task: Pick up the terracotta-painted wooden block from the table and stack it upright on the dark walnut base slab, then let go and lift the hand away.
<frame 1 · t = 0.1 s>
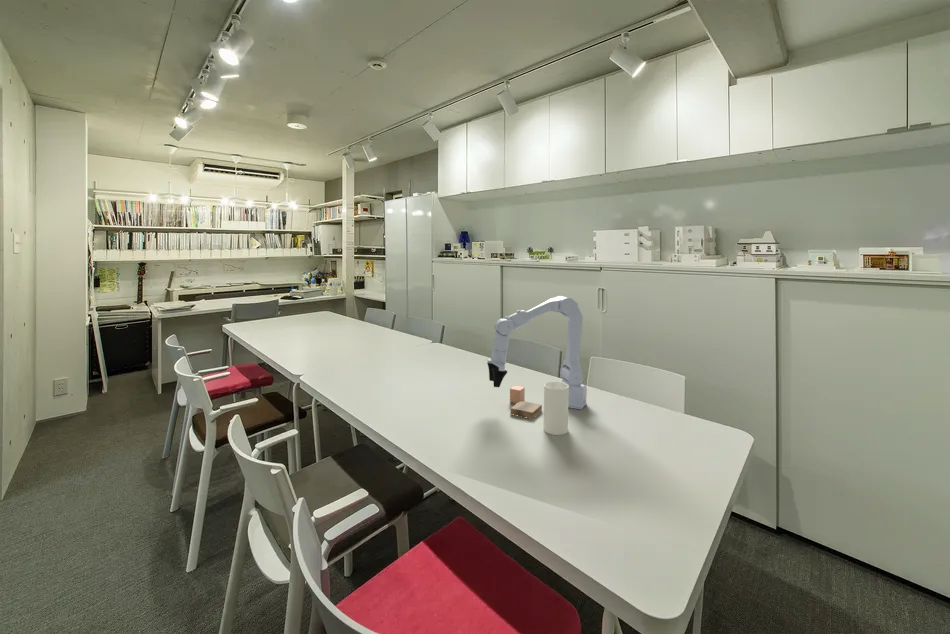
hand: (494, 383, 157), 11 cm above the table, tool pointing down, fingers open, 7 cm apart
base slab: (526, 413, 155), on the table
cup: (555, 430, 140), on the table
block: (517, 401, 167), on the table
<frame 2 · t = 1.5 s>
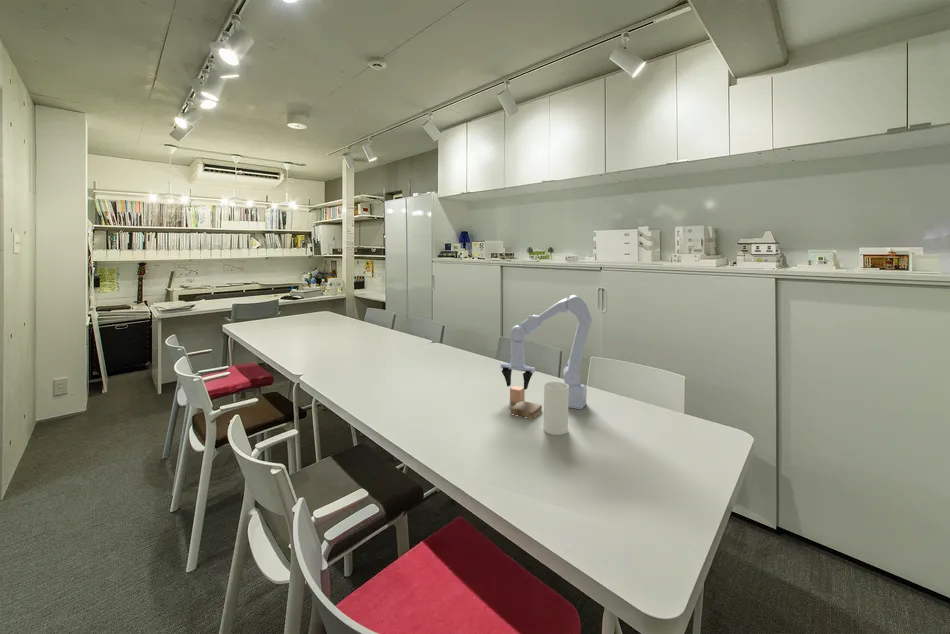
hand: (517, 387, 166), 6 cm above the table, tool pointing down, fingers open, 7 cm apart
nothing on the table moved.
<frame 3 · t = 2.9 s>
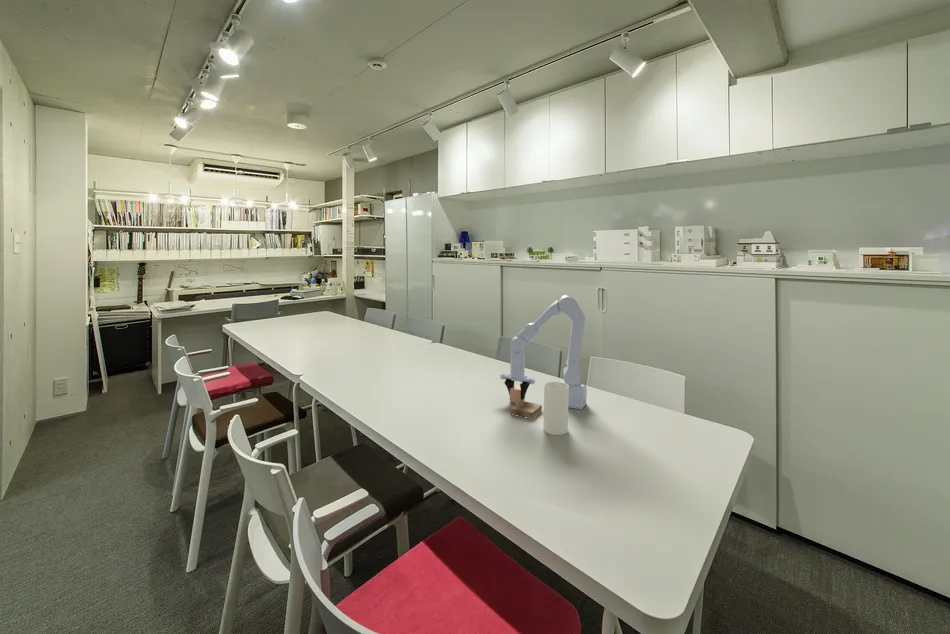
hand: (517, 397, 166), 2 cm above the table, tool pointing down, fingers closed on block, 4 cm apart
block: (517, 401, 167), on the table, touching gripper
everything else where it was.
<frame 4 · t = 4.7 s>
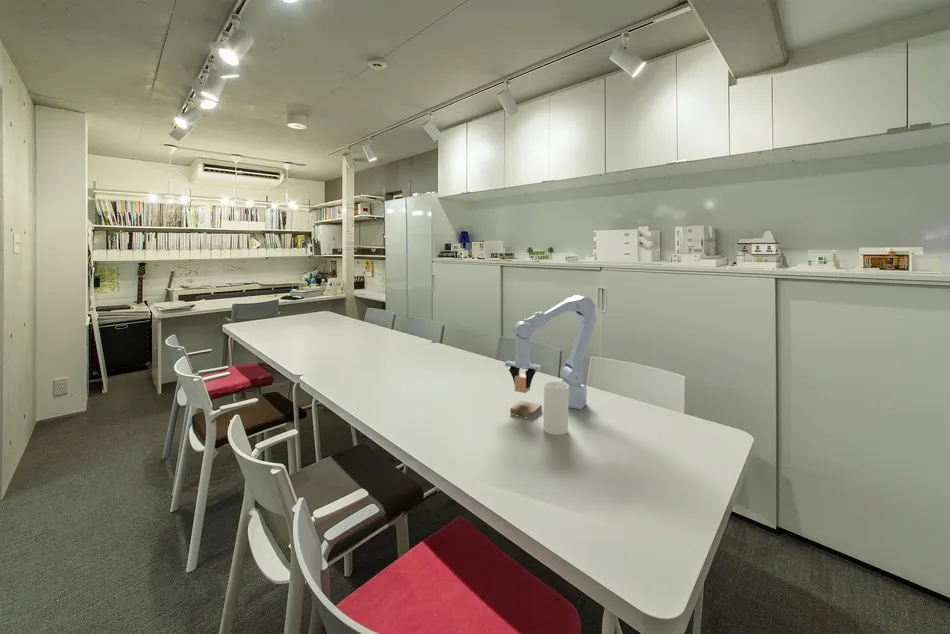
hand: (522, 386, 159), 9 cm above the table, tool pointing down, fingers closed on block, 4 cm apart
block: (522, 390, 159), point 7 cm above the table, touching gripper
everything else where it was.
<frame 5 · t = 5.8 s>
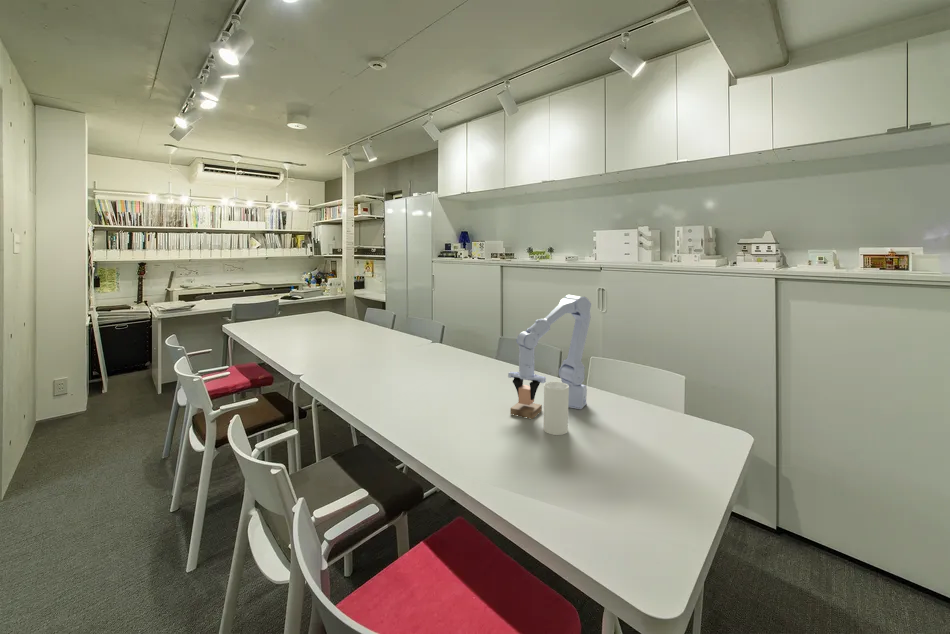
hand: (526, 398, 154), 6 cm above the table, tool pointing down, fingers closed on block, 4 cm apart
block: (526, 402, 154), point 4 cm above the table, touching gripper
everything else where it was.
when the fingers open (6 cm above the table, at t = 6.4 s): block drops 2 cm, resting on base slab.
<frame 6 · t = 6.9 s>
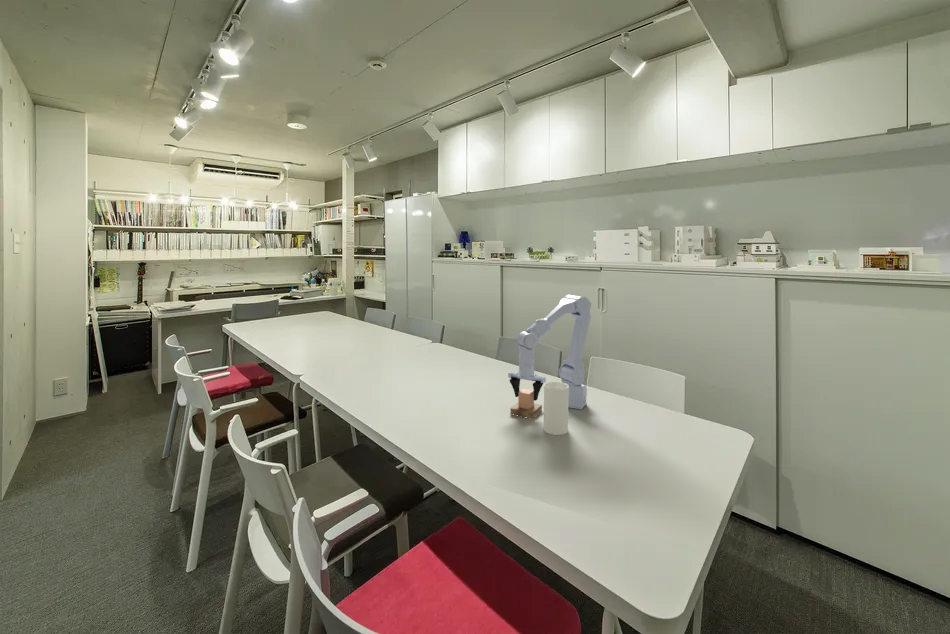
hand: (526, 398, 154), 6 cm above the table, tool pointing down, fingers open, 7 cm apart
base slab: (526, 414, 155), on the table, touching block
block: (526, 406, 155), point 2 cm above the table, touching base slab
everything else where it was.
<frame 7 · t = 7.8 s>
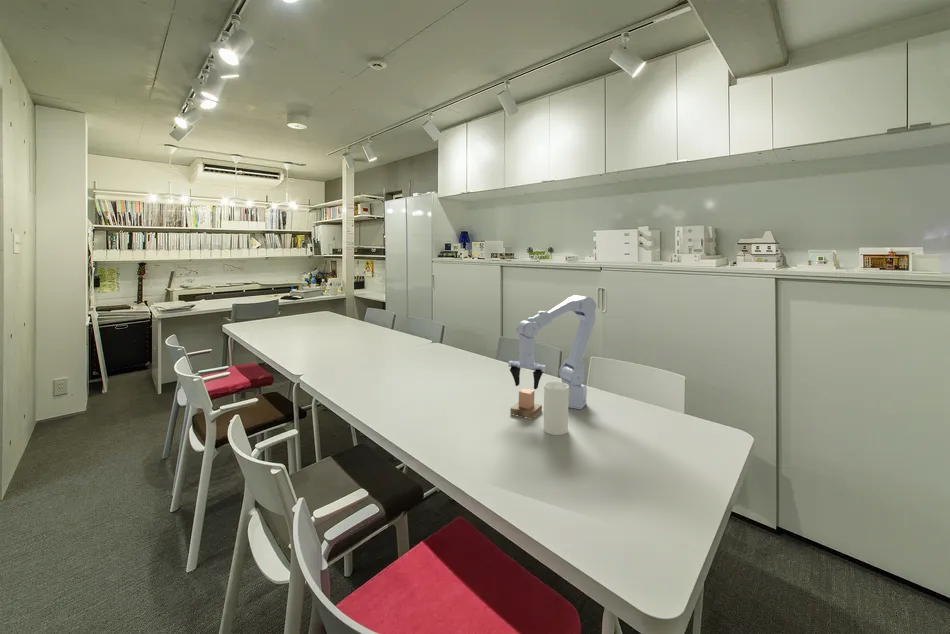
hand: (526, 386, 155), 10 cm above the table, tool pointing down, fingers open, 7 cm apart
base slab: (526, 413, 155), on the table
block: (526, 406, 155), point 3 cm above the table
everything else where it was.
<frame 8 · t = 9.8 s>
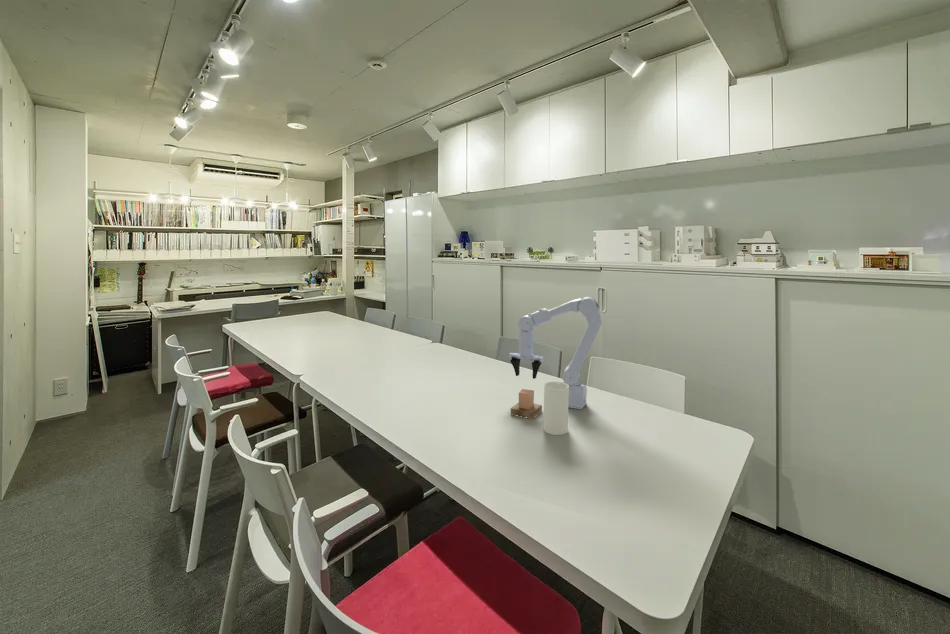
hand: (525, 376, 168), 10 cm above the table, tool pointing down, fingers open, 7 cm apart
nothing on the table moved.
at the end: block 0.1 cm off-centre on the base slab, point 3.0 cm above the base slab's base; block tilted 0°; the gripper is holding nothing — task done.
